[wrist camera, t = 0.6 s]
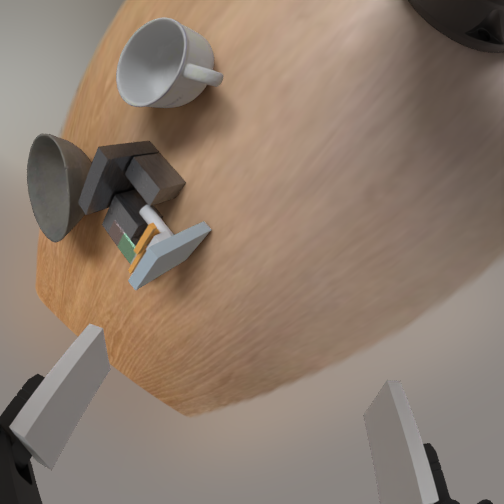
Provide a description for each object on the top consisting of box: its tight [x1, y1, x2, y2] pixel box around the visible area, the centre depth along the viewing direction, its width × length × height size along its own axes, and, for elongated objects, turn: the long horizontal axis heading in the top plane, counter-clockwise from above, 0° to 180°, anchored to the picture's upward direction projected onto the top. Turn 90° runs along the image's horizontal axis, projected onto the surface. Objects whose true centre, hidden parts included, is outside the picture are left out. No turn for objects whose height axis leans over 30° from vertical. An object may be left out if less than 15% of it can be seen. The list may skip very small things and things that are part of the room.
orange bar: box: [128, 223, 160, 274], centre depth 36 cm, size 11×1×2 cm, turn 138°
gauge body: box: [78, 141, 186, 266], centre depth 37 cm, size 14×13×9 cm
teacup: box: [116, 18, 223, 108], centre depth 27 cm, size 14×11×8 cm
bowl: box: [27, 134, 92, 242], centre depth 42 cm, size 19×19×10 cm
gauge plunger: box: [128, 205, 211, 290], centre depth 35 cm, size 7×8×10 cm
